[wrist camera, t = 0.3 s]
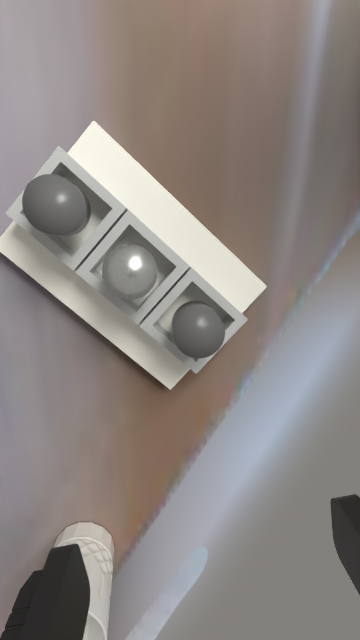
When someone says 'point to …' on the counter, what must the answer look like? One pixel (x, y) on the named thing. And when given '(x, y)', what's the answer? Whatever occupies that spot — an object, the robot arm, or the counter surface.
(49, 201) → the charcoal knob
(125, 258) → the steel knob
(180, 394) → the counter surface
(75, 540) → the white cup
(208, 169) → the counter surface
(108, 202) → the panel
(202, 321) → the charcoal knob
